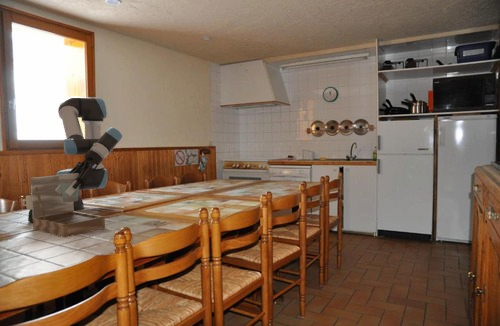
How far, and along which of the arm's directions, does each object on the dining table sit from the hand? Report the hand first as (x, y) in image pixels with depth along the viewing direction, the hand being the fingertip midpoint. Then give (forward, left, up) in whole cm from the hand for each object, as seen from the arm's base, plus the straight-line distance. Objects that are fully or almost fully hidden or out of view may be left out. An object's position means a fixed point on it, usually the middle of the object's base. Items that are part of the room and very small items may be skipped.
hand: (62, 193), depth 146 cm
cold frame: (-2, +3, -17) cm, 17 cm away
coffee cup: (0, +3, -4) cm, 5 cm away
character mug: (-30, +2, -17) cm, 34 cm away
